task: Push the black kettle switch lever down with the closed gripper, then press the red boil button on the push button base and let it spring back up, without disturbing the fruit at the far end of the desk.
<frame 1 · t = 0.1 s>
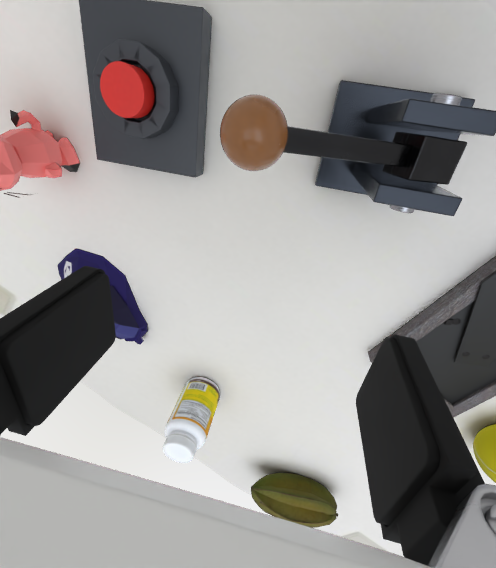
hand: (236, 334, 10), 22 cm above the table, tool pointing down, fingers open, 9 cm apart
switch bracket: (384, 145, 25), on the table
switch lever: (343, 147, 15), point 12 cm above the table, hinge at 25.0°
supplement bottle: (204, 387, 45), on the table
fruit: (296, 477, 52), on the table
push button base: (154, 96, 27), on the table
tennis ball: (494, 429, 38), on the table
picture frame: (474, 337, 32), on the table
computer mouse: (110, 297, 40), on the table
boil button: (128, 91, 23), point 4 cm above the table, slide at 0.1 cm
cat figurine: (58, 147, 31), on the table
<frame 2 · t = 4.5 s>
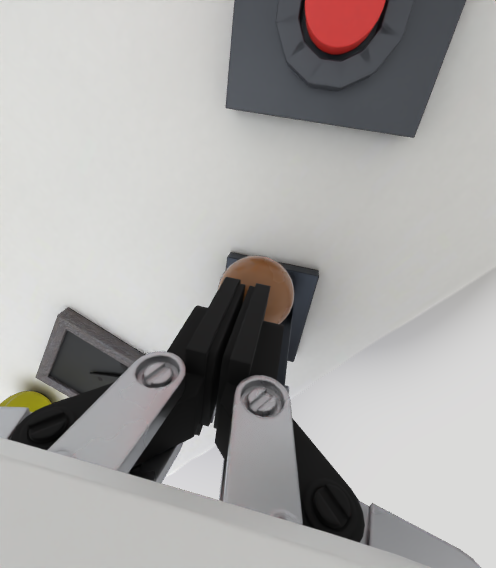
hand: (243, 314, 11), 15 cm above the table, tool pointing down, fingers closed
switch bracket: (264, 306, 28), on the table
switch lever: (248, 349, 16), point 12 cm above the table, hinge at 19.2°, touching gripper
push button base: (337, 30, 18), on the table
tennis ball: (43, 397, 44), on the table
picture frame: (118, 376, 38), on the table
boil button: (343, 4, 14), point 4 cm above the table, slide at 0.1 cm
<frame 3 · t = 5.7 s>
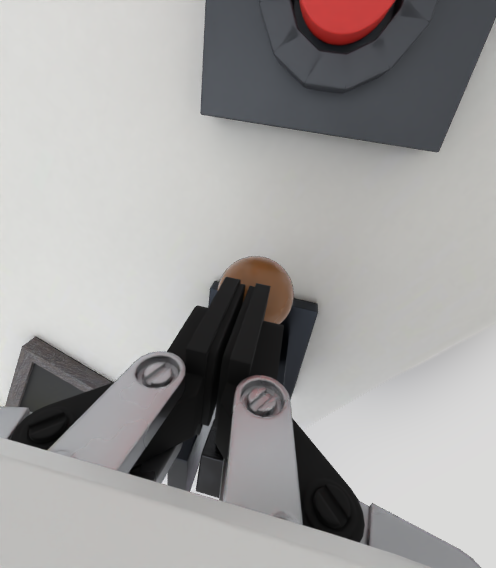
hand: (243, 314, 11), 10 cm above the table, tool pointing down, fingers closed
switch bracket: (255, 341, 25), on the table
switch lever: (238, 385, 14), point 9 cm above the table, hinge at -8.4°, touching gripper
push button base: (340, 15, 14), on the table
picture frame: (95, 410, 35), on the table
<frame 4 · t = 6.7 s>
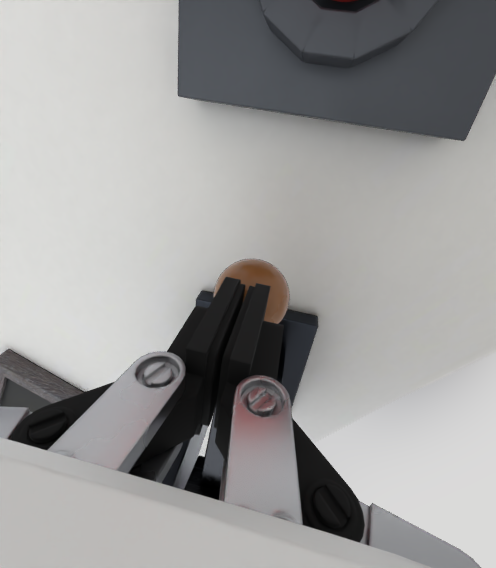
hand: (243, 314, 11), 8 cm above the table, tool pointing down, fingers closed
switch bracket: (248, 356, 22), on the table
switch lever: (229, 403, 13), point 8 cm above the table, hinge at -23.7°, touching gripper
picture frame: (77, 426, 32), on the table
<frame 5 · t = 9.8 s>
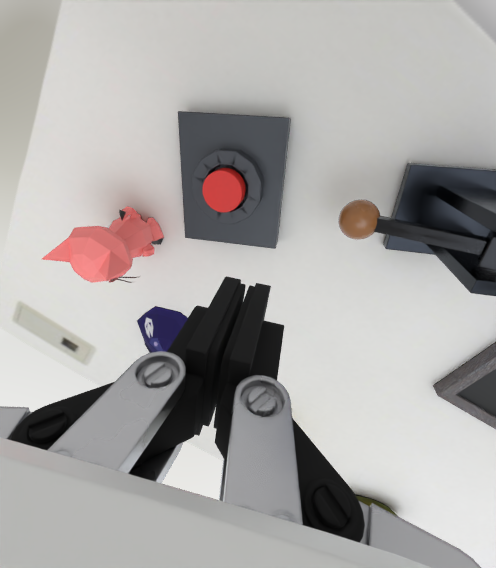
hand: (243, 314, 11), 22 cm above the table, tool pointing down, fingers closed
switch bracket: (449, 211, 28), on the table
switch lever: (424, 233, 22), point 8 cm above the table, hinge at -23.7°
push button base: (235, 181, 30), on the table
computer mouse: (184, 345, 43), on the table
boil button: (224, 190, 27), point 4 cm above the table, slide at 0.1 cm
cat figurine: (144, 225, 35), on the table
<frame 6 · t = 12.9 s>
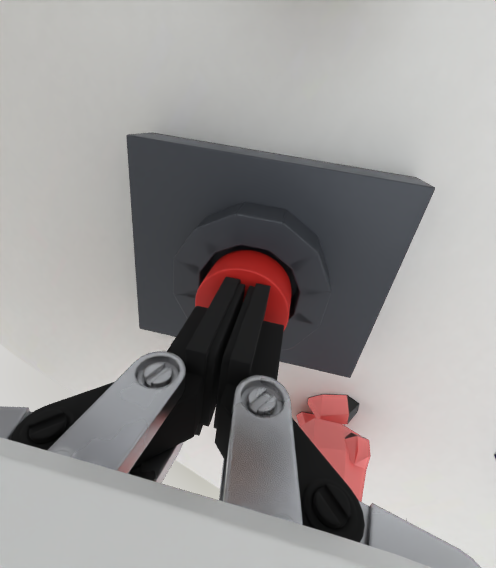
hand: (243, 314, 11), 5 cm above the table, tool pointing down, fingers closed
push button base: (261, 255, 16), on the table
boil button: (245, 299, 12), point 4 cm above the table, slide at 0.1 cm, touching gripper
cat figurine: (320, 411, 21), on the table
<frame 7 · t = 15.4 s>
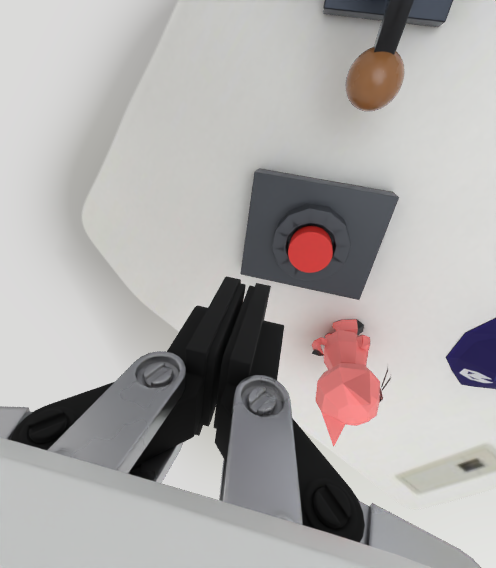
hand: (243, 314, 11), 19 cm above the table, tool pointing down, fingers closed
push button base: (310, 232, 29), on the table
boil button: (310, 249, 25), point 4 cm above the table, slide at 0.1 cm
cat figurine: (339, 332, 34), on the table
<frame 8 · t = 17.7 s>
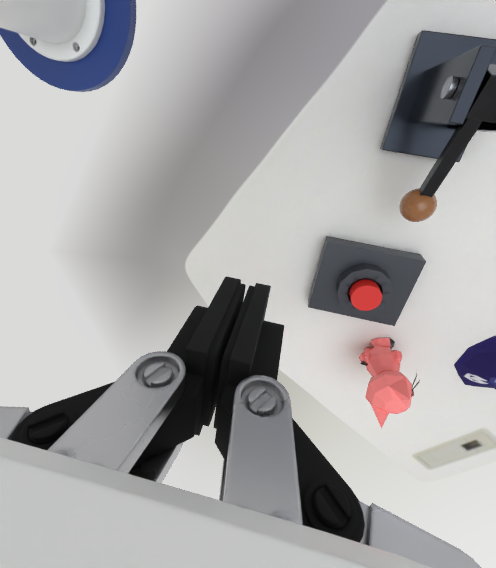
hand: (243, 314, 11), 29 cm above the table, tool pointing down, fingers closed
switch bracket: (437, 101, 30), on the table
switch lever: (447, 159, 25), point 8 cm above the table, hinge at -23.7°
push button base: (360, 278, 40), on the table
boil button: (365, 294, 36), point 4 cm above the table, slide at 0.1 cm
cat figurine: (375, 347, 45), on the table
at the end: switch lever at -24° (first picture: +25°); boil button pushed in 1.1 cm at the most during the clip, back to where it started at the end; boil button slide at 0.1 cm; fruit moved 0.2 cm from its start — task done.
